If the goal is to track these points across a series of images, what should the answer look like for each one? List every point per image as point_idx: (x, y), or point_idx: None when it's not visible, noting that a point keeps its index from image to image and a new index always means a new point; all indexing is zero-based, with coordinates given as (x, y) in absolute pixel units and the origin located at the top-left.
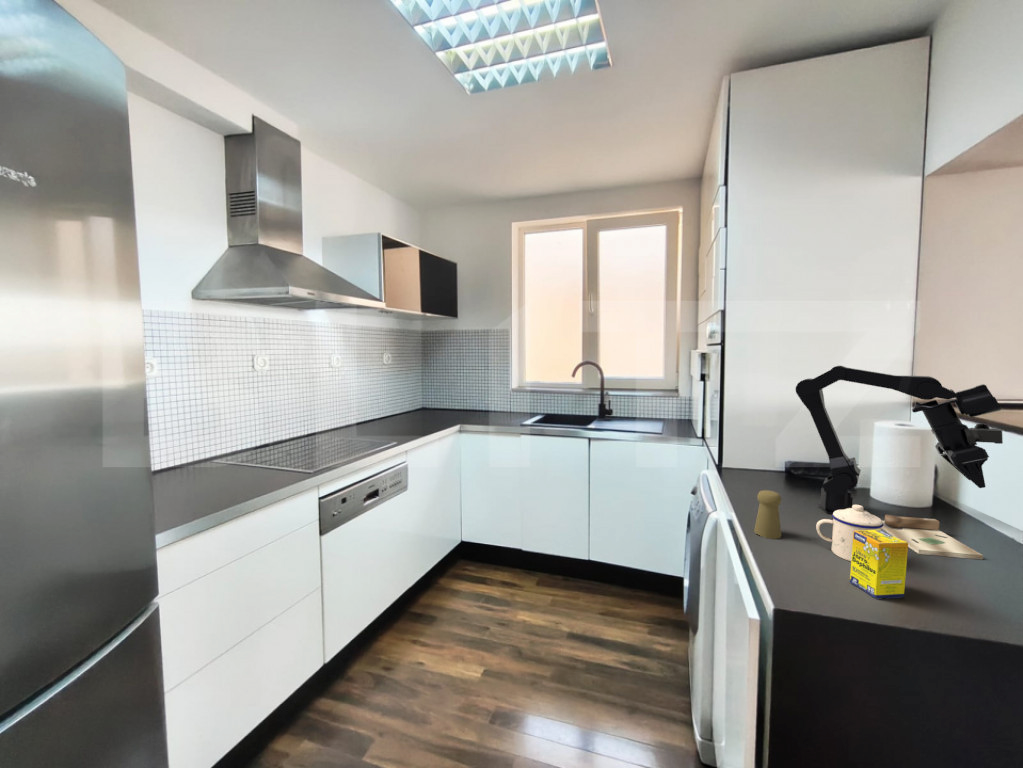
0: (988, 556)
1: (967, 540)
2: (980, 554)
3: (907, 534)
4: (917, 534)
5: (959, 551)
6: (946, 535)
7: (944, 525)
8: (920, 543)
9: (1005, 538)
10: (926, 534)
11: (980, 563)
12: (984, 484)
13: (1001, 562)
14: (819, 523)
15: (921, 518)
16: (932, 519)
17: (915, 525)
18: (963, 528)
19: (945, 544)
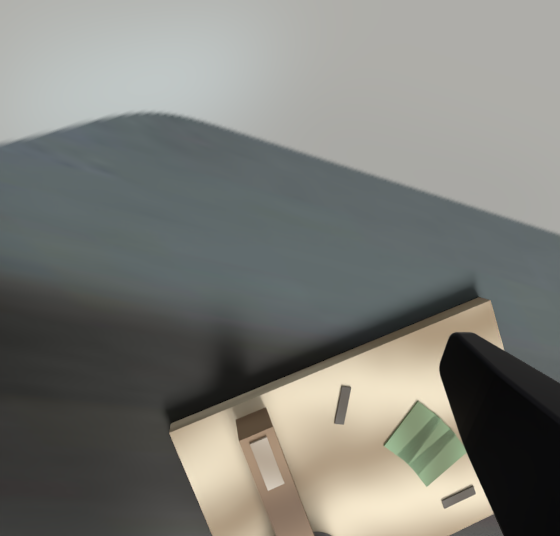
0: (431, 269)
1: (267, 298)
2: (486, 306)
3: (389, 517)
4: (367, 484)
5: None
6: (312, 382)
7: (71, 350)
8: (473, 481)
9: (125, 129)
10: (346, 453)
11: (519, 312)
12: (496, 351)
13: (473, 243)
14: None
15: (268, 498)
16: (261, 455)
17: (301, 501)
18: (67, 275)
19: (438, 402)
